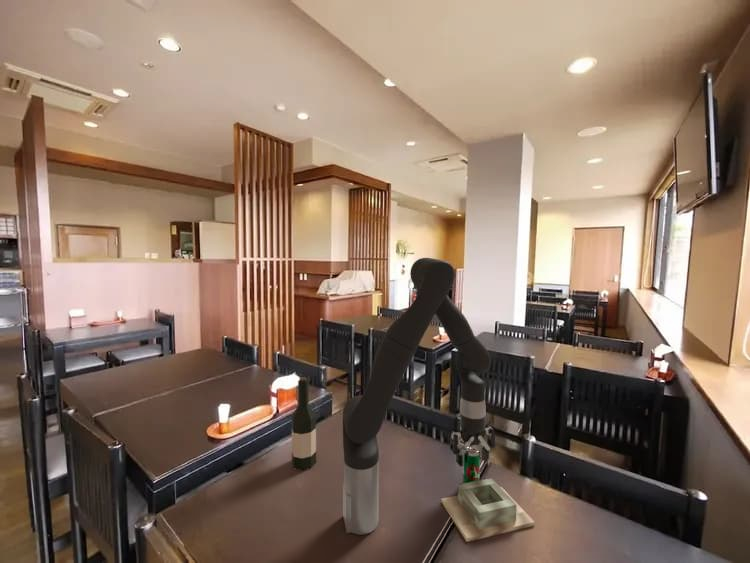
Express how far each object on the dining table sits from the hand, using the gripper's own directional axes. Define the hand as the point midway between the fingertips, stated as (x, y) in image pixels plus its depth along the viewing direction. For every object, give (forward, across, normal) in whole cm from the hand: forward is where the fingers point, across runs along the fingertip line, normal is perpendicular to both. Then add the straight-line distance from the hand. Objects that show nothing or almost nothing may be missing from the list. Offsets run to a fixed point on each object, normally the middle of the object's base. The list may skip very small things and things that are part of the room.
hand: (472, 462), depth 101 cm
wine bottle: (+7, -51, +25) cm, 57 cm away
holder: (+8, -2, -11) cm, 13 cm away
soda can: (+8, 0, 0) cm, 8 cm away
